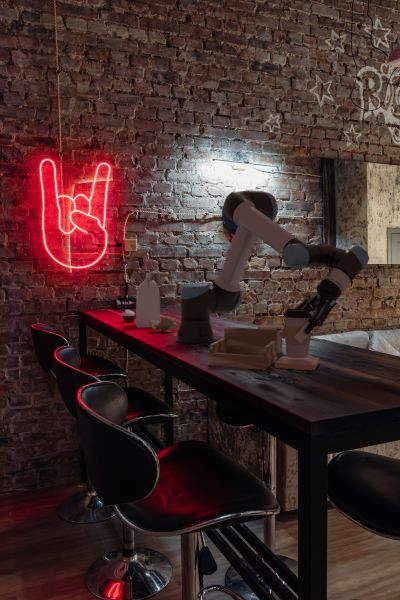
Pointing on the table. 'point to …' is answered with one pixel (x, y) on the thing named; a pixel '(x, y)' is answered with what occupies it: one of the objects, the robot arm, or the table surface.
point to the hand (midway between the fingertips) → (288, 338)
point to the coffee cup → (292, 326)
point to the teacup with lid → (273, 325)
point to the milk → (147, 303)
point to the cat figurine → (163, 324)
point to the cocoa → (128, 314)
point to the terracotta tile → (297, 363)
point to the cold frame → (245, 348)
